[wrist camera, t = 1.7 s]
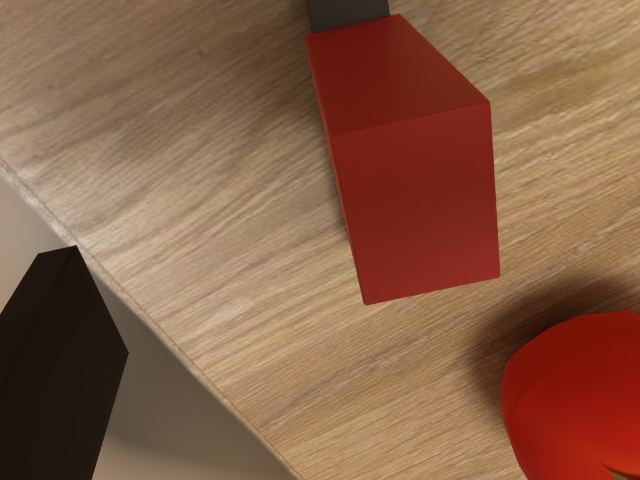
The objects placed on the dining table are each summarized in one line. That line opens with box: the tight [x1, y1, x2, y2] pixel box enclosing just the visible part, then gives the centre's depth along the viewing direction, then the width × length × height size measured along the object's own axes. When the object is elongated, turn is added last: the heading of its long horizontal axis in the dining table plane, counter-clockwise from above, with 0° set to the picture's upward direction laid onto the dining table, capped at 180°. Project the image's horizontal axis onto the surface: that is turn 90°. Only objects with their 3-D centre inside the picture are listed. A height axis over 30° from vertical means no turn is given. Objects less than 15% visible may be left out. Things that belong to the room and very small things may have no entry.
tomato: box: [501, 310, 640, 480], centre depth 26 cm, size 11×11×9 cm
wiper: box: [304, 0, 500, 305], centre depth 17 cm, size 3×14×11 cm, turn 12°
